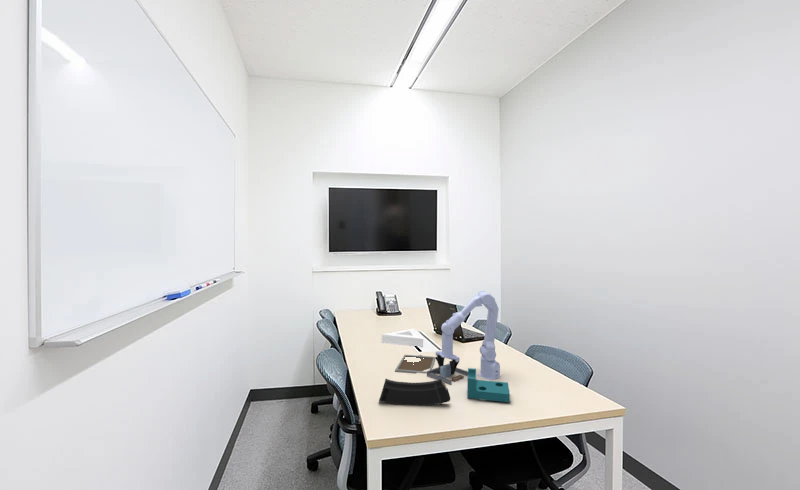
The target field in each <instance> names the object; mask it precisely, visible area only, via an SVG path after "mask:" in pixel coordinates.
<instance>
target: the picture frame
mask: <svg viewBox="0 0 800 490" xmlns="http://www.w3.org/2000/svg"><path fill="white" fill-rule="evenodd" d="M405 357H416V358H420V359H421V361H419V362H414V363H413V362H407V360H404V359H405ZM436 357H437V356H429V355H428V356H427V355H421V354H420V355H413V354H403V357H402V358H401V360H399V363H398V364H397V366H396V368H395V370H394V372H395V373H403V374H404V373H406V374H427V371H428V370H432V369H433V368H434V365H435V361H436ZM423 358H424V359H423ZM413 364H414V365H413Z"/></svg>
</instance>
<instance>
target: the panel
mask: <svg viewBox="0 0 800 490" xmlns="http://www.w3.org/2000/svg"><path fill="white" fill-rule="evenodd" d="M439 376H441V377H444V378H448V377H450V376H452V375H451V367H450V363H446V364H444V366H441V367H440V373H439Z"/></svg>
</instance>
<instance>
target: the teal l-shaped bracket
mask: <svg viewBox="0 0 800 490" xmlns="http://www.w3.org/2000/svg"><path fill="white" fill-rule="evenodd" d="M467 371H468V376H467V388H466V389H467V394H466V395H467V399H473V400H474V399H475V400H481V401H492V402H493V401H495V402H503V403H511V402H510V401H511V400H510V399H511V398H510V395H511V394H510V387H509V384H508V382H505V381H494V380H482V379H480V380H479V379H477V368H474V367H473V368H472V367H471V368H470V367H469V368H467Z"/></svg>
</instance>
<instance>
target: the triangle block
mask: <svg viewBox="0 0 800 490" xmlns="http://www.w3.org/2000/svg"><path fill="white" fill-rule="evenodd" d="M381 343H382V344H389V345H398V346H406V345H407V346H406V347H415V346H419V347H418V348H424V338H423V337H422V336H421V335H420V334H419V333H418V332H417V331H416V329H415V328H414V327H413V328H408V329H402V330H398V331H393V332H388V333H382V334H381Z"/></svg>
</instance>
